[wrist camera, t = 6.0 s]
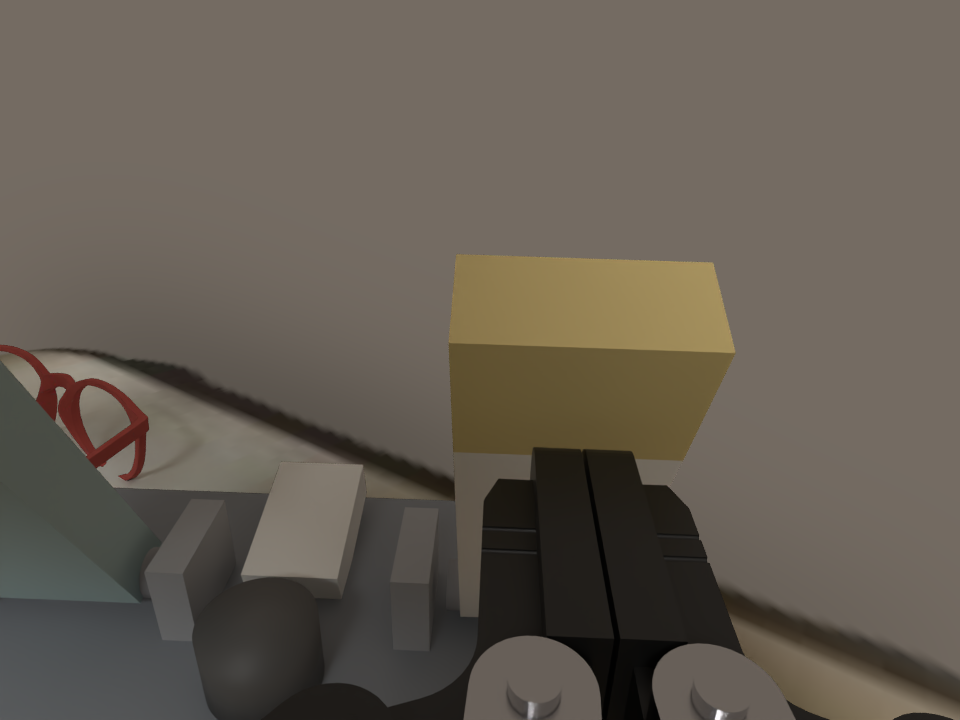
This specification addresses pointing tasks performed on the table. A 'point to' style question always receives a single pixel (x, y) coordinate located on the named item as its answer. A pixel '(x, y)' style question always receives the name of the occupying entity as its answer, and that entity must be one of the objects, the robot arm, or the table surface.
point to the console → (251, 608)
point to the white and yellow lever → (574, 373)
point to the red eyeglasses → (72, 416)
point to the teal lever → (62, 514)
